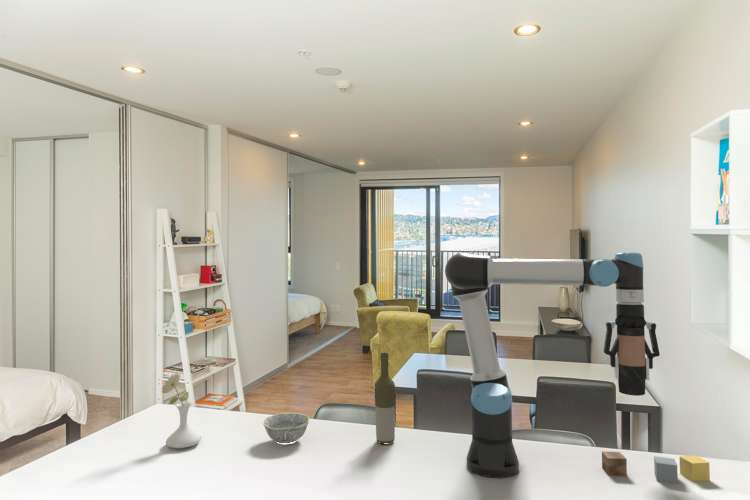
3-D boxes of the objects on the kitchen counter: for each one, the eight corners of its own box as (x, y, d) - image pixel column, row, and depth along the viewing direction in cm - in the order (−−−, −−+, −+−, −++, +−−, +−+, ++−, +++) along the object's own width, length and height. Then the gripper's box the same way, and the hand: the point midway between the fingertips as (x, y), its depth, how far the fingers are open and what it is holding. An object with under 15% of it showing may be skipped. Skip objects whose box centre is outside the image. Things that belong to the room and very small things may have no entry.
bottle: (377, 437, 172) (376, 351, 172) (397, 439, 170) (396, 352, 171) (373, 445, 165) (372, 355, 165) (394, 446, 163) (392, 355, 164)
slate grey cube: (656, 481, 136) (656, 462, 136) (654, 473, 141) (654, 456, 141) (677, 484, 134) (677, 465, 134) (674, 476, 139) (674, 458, 139)
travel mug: (650, 396, 145) (648, 328, 145) (621, 395, 146) (620, 327, 147) (641, 389, 152) (639, 324, 152) (614, 388, 154) (613, 324, 154)
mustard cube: (692, 481, 135) (692, 463, 135) (680, 474, 140) (679, 456, 140) (709, 480, 136) (709, 462, 136) (696, 473, 141) (696, 455, 141)
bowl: (306, 450, 161) (305, 427, 161) (257, 451, 161) (257, 427, 161) (312, 433, 177) (312, 412, 177) (268, 433, 177) (268, 412, 177)
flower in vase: (188, 436, 175) (188, 366, 175) (208, 443, 168) (208, 370, 169) (154, 448, 164) (153, 373, 165) (173, 456, 157) (173, 377, 158)
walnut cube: (608, 475, 140) (608, 458, 140) (602, 468, 144) (601, 451, 145) (626, 476, 139) (626, 458, 139) (619, 469, 144) (619, 451, 144)
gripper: (595, 303, 149) (596, 379, 148) (671, 304, 143) (673, 383, 143) (591, 301, 156) (593, 374, 156) (664, 302, 151) (665, 377, 150)
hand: (631, 378), depth 149 cm, fingers closed on travel mug, 8 cm apart
